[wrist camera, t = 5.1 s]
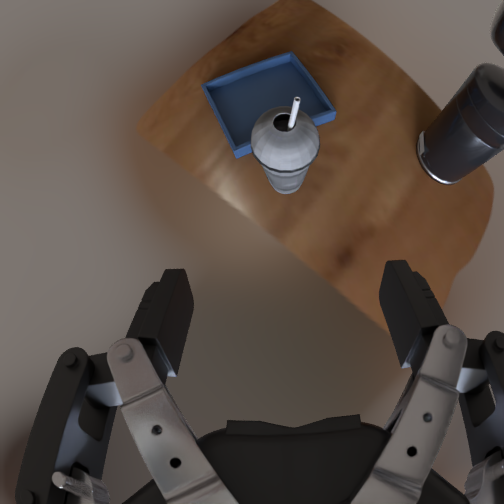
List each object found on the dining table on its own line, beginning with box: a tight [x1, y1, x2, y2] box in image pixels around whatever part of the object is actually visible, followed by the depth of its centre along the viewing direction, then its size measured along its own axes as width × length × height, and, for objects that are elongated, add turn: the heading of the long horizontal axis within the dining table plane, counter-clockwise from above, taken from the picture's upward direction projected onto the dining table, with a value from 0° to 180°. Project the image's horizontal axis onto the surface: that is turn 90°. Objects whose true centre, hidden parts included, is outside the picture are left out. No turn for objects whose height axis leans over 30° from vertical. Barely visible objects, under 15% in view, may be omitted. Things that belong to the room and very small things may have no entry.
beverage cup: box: [251, 97, 320, 194], centre depth 31 cm, size 7×7×20 cm
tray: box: [201, 51, 336, 159], centre depth 41 cm, size 16×14×2 cm
